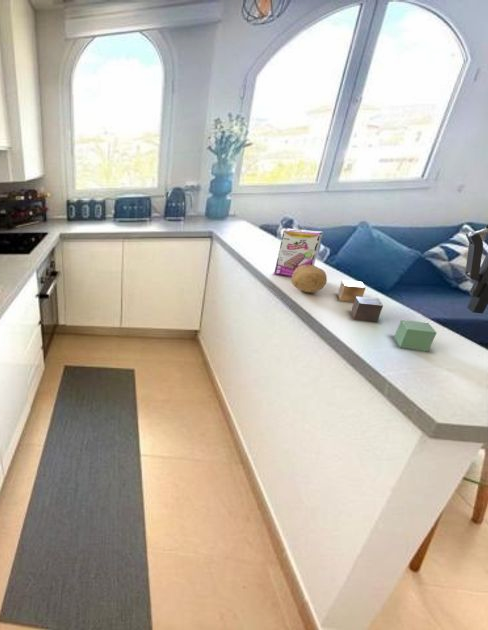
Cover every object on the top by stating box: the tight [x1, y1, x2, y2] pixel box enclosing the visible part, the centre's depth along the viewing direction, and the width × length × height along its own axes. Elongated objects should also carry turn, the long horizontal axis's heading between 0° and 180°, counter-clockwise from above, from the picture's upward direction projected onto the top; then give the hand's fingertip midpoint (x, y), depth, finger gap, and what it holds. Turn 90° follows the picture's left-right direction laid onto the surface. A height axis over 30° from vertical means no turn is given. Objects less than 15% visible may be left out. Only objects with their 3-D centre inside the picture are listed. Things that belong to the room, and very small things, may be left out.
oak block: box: [337, 279, 366, 303], centre depth 105 cm, size 5×5×5 cm
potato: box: [291, 264, 328, 293], centre depth 113 cm, size 10×14×8 cm
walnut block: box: [350, 296, 384, 323], centre depth 94 cm, size 5×5×5 cm
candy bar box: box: [274, 227, 324, 278], centre depth 123 cm, size 11×5×16 cm, turn 46°
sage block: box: [393, 319, 437, 352], centre depth 81 cm, size 5×5×5 cm
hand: (474, 310), depth 75 cm, fingers closed
